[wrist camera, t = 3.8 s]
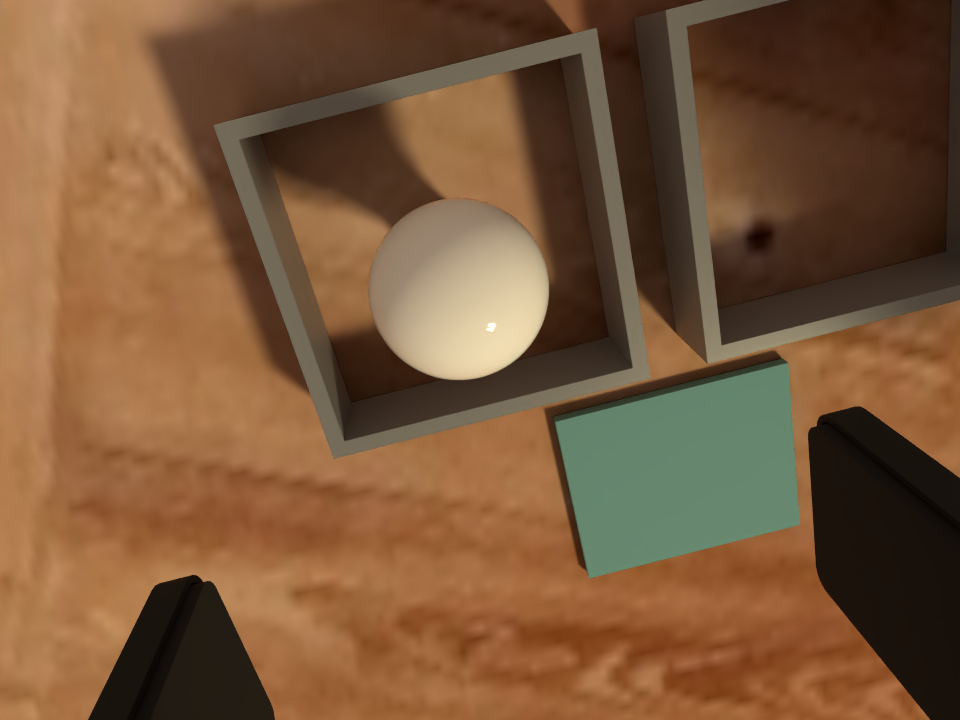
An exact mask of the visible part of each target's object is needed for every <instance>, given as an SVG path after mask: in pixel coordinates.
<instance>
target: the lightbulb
mask: <svg viewBox="0 0 960 720" xmlns="http://www.w3.org/2000/svg"><path fill="white" fill-rule="evenodd" d="M368 298H369V305H370V310H371V314H372V317H373V320H374V323H375V325H376V327H377V329H378V331H379V333H380V335H381V337H382V338H383V340H384V341H385V343H386V344H387V345H388V347H389V348H390V349H391V350H392V351H393V352H394V353H395V354H396V355H397V356H398V357H399V358H400V359H401V360H402V361H404V362H405V363H406V364H408V365H409V366H411V367H413V368H414V369H416V370H418V371H420V372H422V373H425V374H427V375H430V376H433V377H437V378H441V379H448V380H470V379H476V378H481V377H484V376H488V375H490V374H493V373H495V372H497V371H500V370H501V369H503V368H505V367H507V366H508V365H510V364H511V363H513V362H514V361H515V360H516V359H518V358H519V357H520V356H521V355H522V354H523V353H524V352H525V351H526V350H527V349H528V348H529V346H530V345H531V344H532V342H533V341H534V339H535V338H536V336H537V334H538V333H539V331H540V329H541V327H542V324H543V322H544V319H545V316H546V312H547V307H548V301H549V278H548V272H547V267H546V263H545V260H544V257H543V255H542V253H541V250H540V248H539V246H538V245H537V243H536V241H535V240H534V238H533V237H532V235H531V234H530V233H529V231H528V230H527V229H526V228H525V227H524V226H523V225H522V224H521V223H520V222H519V221H518V220H517V219H516V218H514V217H513V216H512V215H510V214H509V213H507V212H506V211H504V210H502V209H501V208H499V207H497V206H494V205H492V204H489V203H486V202H483V201H479V200H475V199H468V198H449V199H442V200H437V201H434V202H430V203H428V204H425V205H422V206H420V207H418V208H416V209H414V210H413V211H411V212H409V213H408V214H406V215H405V216H404V217H402V218H401V219H400V220H399V221H398V222H397V223H396V224H395V225H394V226H393V227H392V228H391V229H390V230H389V231H388V232H387V234H386V235H385V236H384V238H383V239H382V241H381V243H380V245H379V246H378V248H377V250H376V253H375V255H374V258H373V260H372V264H371V267H370V272H369V279H368Z"/></svg>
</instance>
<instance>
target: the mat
mask: <svg viewBox="0 0 960 720" xmlns="http://www.w3.org/2000/svg"><path fill="white" fill-rule="evenodd" d="M553 419H554V423H555V428H556V433H557V437H558V442H559V446H560V451H561V456H562V460H563V465H564V469H565V474H566V479H567V483H568V488H569V492H570V497H571V502H572V506H573V511H574V515H575V520H576V525H577V529H578V534H579V538H580V543H581V548H582V552H583V557H584V561H585V566H586V571H587V574H588V576H589V578H592V577H596V576H600V575H604V574H608V573H612V572H616V571H620V570H624V569H628V568H632V567H636V566H640V565H644V564H648V563H651V562H655V561H659V560H663V559H667V558H671V557H675V556H679V555H683V554H687V553H691V552H695V551H699V550H703V549H707V548H711V547H714V546H718V545H722V544H726V543H730V542H734V541H738V540H742V539H746V538H750V537H754V536H758V535H762V534H766V533H770V532H773V531H777V530H781V529H785V528H789V527H793V526H797V525H800V522H799V508H798V494H797V480H796V466H795V452H794V438H793V424H792V410H791V396H790V382H789V368H788V362H786V361H785V360H784V359H778V360H774V361H770V362H767V363H763V364H759V365H755V366H751V367H747V368H743V369H739V370H735V371H731V372H727V373H723V374H719V375H715V376H711V377H707V378H704V379H700V380H696V381H692V382H688V383H684V384H680V385H676V386H672V387H668V388H664V389H660V390H656V391H652V392H648V393H644V394H641V395H637V396H633V397H629V398H625V399H621V400H617V401H613V402H609V403H605V404H601V405H597V406H593V407H589V408H585V409H581V410H578V411H574V412H570V413H566V414H562V415H558V416H554V417H553Z"/></svg>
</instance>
